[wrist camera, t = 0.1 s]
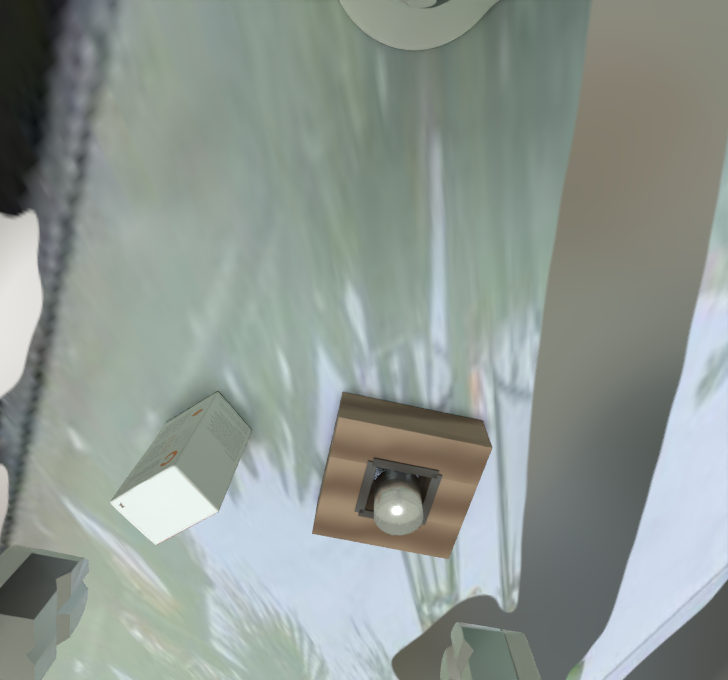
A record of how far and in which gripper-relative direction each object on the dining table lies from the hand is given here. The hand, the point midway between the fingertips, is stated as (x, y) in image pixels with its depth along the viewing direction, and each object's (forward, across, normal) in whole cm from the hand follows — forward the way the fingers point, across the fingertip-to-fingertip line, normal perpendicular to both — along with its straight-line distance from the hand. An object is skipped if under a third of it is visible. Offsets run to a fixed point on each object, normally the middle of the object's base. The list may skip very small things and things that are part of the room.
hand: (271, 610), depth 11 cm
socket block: (+41, -10, +21) cm, 47 cm away
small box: (+41, +12, +21) cm, 48 cm away
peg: (+38, -10, +21) cm, 44 cm away
